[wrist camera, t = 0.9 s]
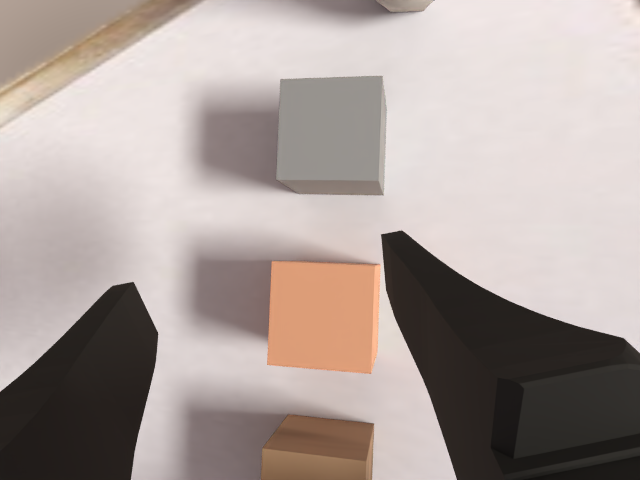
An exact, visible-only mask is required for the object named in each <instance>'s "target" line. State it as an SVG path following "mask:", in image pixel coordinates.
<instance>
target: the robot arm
mask: <svg viewBox="0 0 640 480" xmlns="http://www.w3.org/2000/svg"><path fill="white" fill-rule="evenodd" d="M381 237H382V248H383V260H384V272H385V283H386V291H387V294H388V297H389V301H390V304H391V307H392V310H393V313H394V316H395V319H396V321H397V324H398V326H399V328H400V330H401V332H402V335H403V337H404V339H405V341H406V343H407V346H408V348H409V350H410V352H411V354H412V356H413V359H414V361H415V363H416V365H417V367H418V369H419V372H420V374H421V376H422V378H423V380H424V383H425V385H426V388H427V390H428V393H429V395H430V398H431V401H432V404H433V407H434V410H435V413H436V416H437V419H438V422H439V425H440V428H441V431H442V434H443V437H444V440H445V443H446V446H447V449H448V452H449V456H450V459H451V462H452V465H453V468H454V471H455V475H456V478H457V480H640V353H639V352H638V351H637V350H636V349H635V348H634V347H632V346H631V345H630V344H629V343H628V342H627V341H626V340H625V339H624V338H621V337H617V336H613V335H609V334H605V333H601V332H597V331H593V330H589V329H585V328H581V327H578V326H575V325H572V324H568V323H565V322H562V321H559V320H556V319H553V318H550V317H547V316H545V315H542V314H539V313H537V312H534V311H532V310H529V309H527V308H524V307H522V306H519V305H517V304H515V303H512V302H510V301H508V300H506V299H504V298H502V297H500V296H498V295H496V294H494V293H492V292H490V291H488V290H486V289H484V288H482V287H480V286H479V285H477V284H475V283H473V282H472V281H470V280H468V279H467V278H465V277H464V276H462V275H460V274H459V273H457V272H456V271H454V270H453V269H451V268H450V267H449V266H447V265H446V264H444V263H443V262H442V261H440V260H439V259H437V258H436V257H435V256H433V255H432V254H431V253H430V252H428V251H427V250H426V249H425V248H423V247H422V246H421V245H420V244H418V243H417V242H416V241H415V240H413V239H412V238H411V237H410V236H409V235H407V234H406V233H405V232H403V231H397V232H392V233H387V234H381ZM157 342H158V332H157V330H156V328H155V326H154V324H153V322H152V319H151V317H150V315H149V313H148V311H147V309H146V307H145V305H144V303H143V301H142V298H141V296H140V294H139V292H138V290H137V288H136V286H135V284H134V282H131V283H125V284H120V285H115V286H112V287H111V288H110V289H109V290H107V291H106V292H105V293H104V294H103V295H102V296H101V297H100V298H99V299H98V300H97V301H96V302H95V303H94V304H93V305H92V306H91V308H90V309H89V310H88V311H87V312H86V313H85V314H84V315H83V316H82V317H81V318H80V319H79V320H78V321H77V322H76V323H75V324H74V325H73V326H72V327H71V328H70V329H69V330H68V331H67V332H66V333H65V334H64V335H63V336H62V337H61V338H60V339H59V340H58V341H57V342H56V343H55V344H54V345H53V346H52V347H51V348H50V349H49V350H48V351H47V352H46V353H44V354H43V355H42V356H41V357H40V358H39V359H38V360H37V361H36V362H35V363H34V364H33V365H32V366H31V367H29V368H28V369H27V370H26V371H25V372H24V373H23V374H21V375H20V376H19V377H18V378H17V379H15V380H14V381H13V382H12V383H11V384H9V385H8V386H7V387H6V388H4V389H3V390H2V391H1V392H0V480H131V474H132V467H133V459H134V452H135V447H136V442H137V437H138V433H139V429H140V425H141V421H142V417H143V413H144V409H145V405H146V401H147V397H148V393H149V389H150V385H151V381H152V377H153V372H154V368H155V362H156V353H157Z"/></svg>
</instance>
